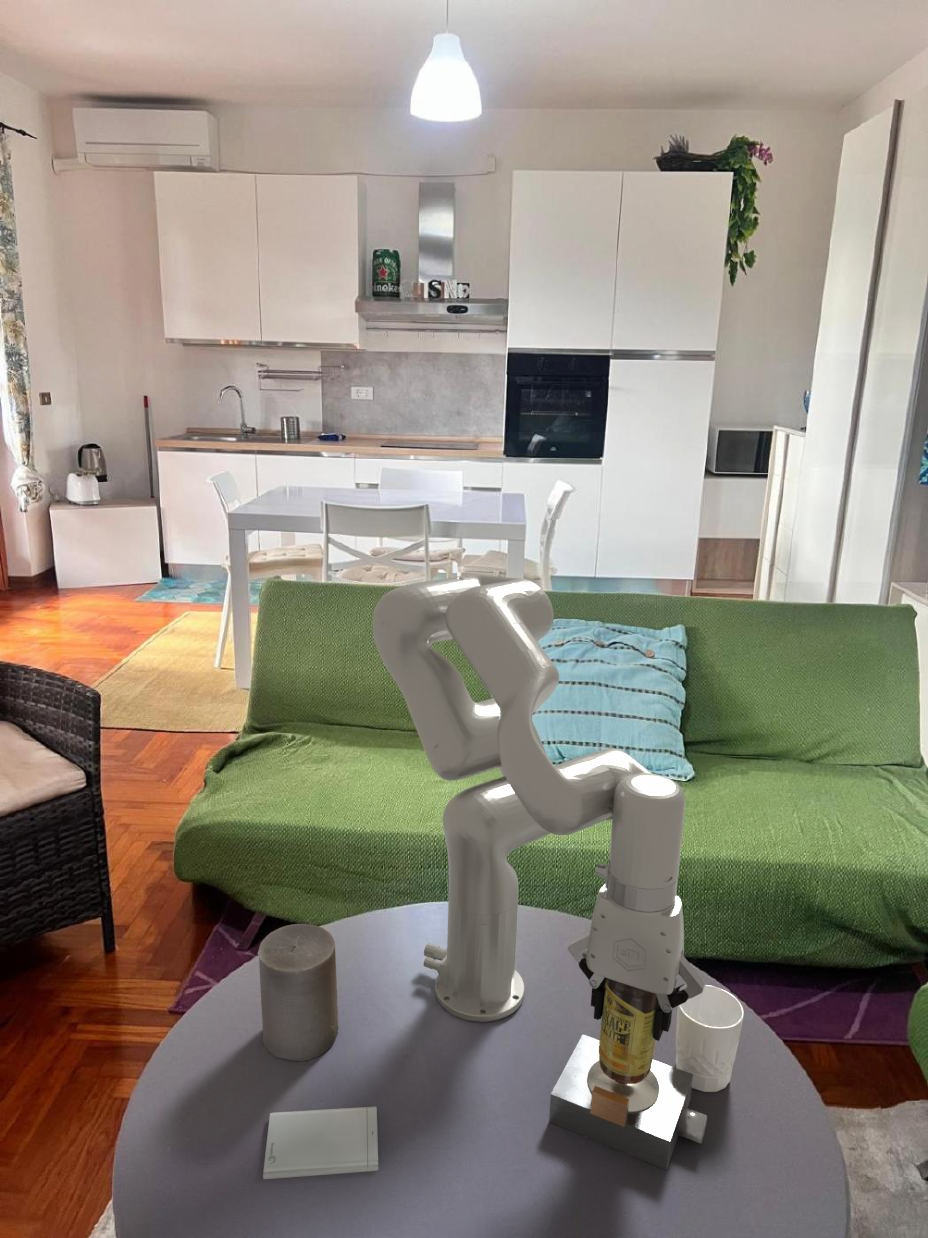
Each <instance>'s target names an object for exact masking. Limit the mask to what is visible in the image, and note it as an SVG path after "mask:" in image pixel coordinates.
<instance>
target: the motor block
mask: <svg viewBox="0 0 928 1238" xmlns="http://www.w3.org/2000/svg"><path fill="white" fill-rule="evenodd" d="M599 1041H600V1039H596V1038H594V1037H592V1036H588V1035H587V1034H582V1035H581V1036H580V1039H579V1041H578V1043H577V1044H576V1046H575V1048H574V1050H573V1052H572V1054H571V1056H570V1057H569V1059H568V1061H567V1063H566V1065H565V1066H564V1069H563V1071H562V1073H561V1074H560V1076H559V1078H558V1080H557V1081H556V1084H555V1085H554V1087H553V1089H552V1090H551V1092H550V1099H549V1100H550V1101H549V1115H548V1122H549V1123H551V1124H553V1125H556V1126H558V1127H561V1128H563V1129H566V1130H567V1131H568V1130H569V1131H570V1132H573V1133H575V1134H578V1135H580V1136H582V1137H585V1138H588V1139H590V1140H593V1141H595V1142H597V1143H600V1144H602V1145H604V1146H606V1147H609V1148H612V1149H614V1150H617V1151H619V1152H621V1153H623V1154H626V1155H629V1156H631V1157H634V1158H636V1159H638V1160H641V1161H643V1162H646V1163H649V1164H651V1165H653V1166H655V1167H658V1168H660V1169H663V1170H665V1171H667V1170H668V1167H669V1165H670V1162H671V1158H672V1156H673V1153H674V1150H675V1146H676V1144H677V1141H678V1138H679V1136H681V1137H682V1138H685V1139H688V1140H690V1141H692V1142H696V1143H699V1144H702V1142H703V1140H704V1136H705V1132H706V1128H707V1121H708V1115H707V1114H704V1113H703V1112H699V1111H696V1110H694V1109H692V1108H689V1105H690V1103H691V1096H692V1089H693V1088H692V1081H693V1074H691V1073H688V1072H685V1071H683V1070H680V1069H677V1068H676V1067H674V1066H672V1065H668V1064H666V1063H663V1062H660V1061H659V1060H655V1059H654V1058H655V1057H654V1055H655V1049H654V1050H653V1058H652V1064H651V1069H650V1072H649V1074H648V1075H647V1077H646V1078H645V1079H644V1080H642V1081H641V1082H639V1083H636V1084H620V1083H618V1082H616V1081H615V1080H612V1079H611V1078H609V1077H608V1076H607V1075H606V1074H605V1073H603V1070H602V1069H601V1067H600V1061H599ZM655 1046H656V1041H655V1042H654V1048H655Z"/></svg>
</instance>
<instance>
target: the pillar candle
mask: <svg viewBox="0 0 928 1238" xmlns="http://www.w3.org/2000/svg"><path fill="white" fill-rule="evenodd" d="M257 956H258V965H259V982H260V983H259V984H260V985H259V986H260V999H261V1000H260V1002H261V1003H260V1004H261V1017H262V1018H261V1019H262V1021H261V1022H262V1039H263V1040H262V1041H263V1044H264V1047H265V1049H266V1050H267V1052H268V1053H269V1054H270V1055H272V1056H273V1057H275V1058H277V1059H282V1060H288V1061H294V1062H296V1061H297V1062H304V1061H309V1060H312V1059H314V1058H317V1057H319V1056H321V1055H323V1054H324V1053H326V1052H327V1051H328V1050H329V1049H330V1048H331V1047H332V1046H333V1045H334V1044H335V1041H336V1040H337V1037H338V1034H339V1016H338V1015H339V1013H338V1012H339V1011H338V1008H339V1007H338V987H337V986H338V985H337V960H336V959H337V958H336V942H335V939H334V936H333V935H332V934H331V932H329V931H328V930H326V929H325V928H323V927H321V926H318V925H315V924H308V923H295V924H288V925H284V926H281V927H279V928H276V929H275V930H273V931H271V932H270V933H269V934H267V935H266V936H265V937H264V938H263V939H262V941H261V943H260V944H259V947H258V951H257Z"/></svg>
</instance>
